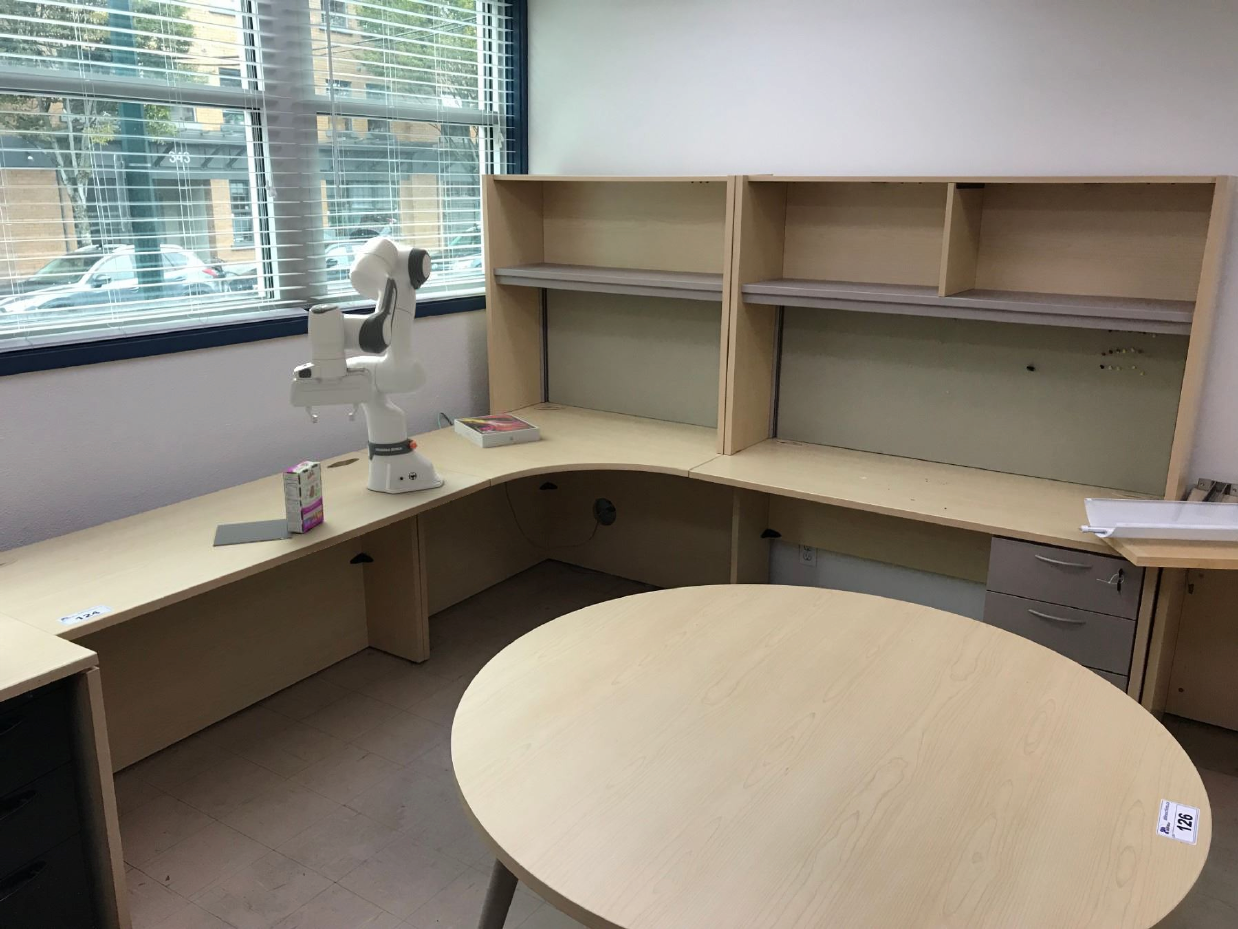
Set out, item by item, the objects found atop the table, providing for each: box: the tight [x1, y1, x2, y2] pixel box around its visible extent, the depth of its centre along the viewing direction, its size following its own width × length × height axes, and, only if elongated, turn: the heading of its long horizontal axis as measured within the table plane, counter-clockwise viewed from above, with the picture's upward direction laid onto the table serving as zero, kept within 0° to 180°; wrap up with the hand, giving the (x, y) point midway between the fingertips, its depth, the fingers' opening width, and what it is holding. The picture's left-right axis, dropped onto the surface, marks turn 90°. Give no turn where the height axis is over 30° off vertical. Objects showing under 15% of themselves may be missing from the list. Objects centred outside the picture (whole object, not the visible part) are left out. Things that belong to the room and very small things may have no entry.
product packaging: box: [453, 413, 541, 449], centre depth 352 cm, size 22×28×5 cm
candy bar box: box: [282, 460, 325, 534], centre depth 253 cm, size 11×5×16 cm, turn 168°
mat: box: [212, 518, 292, 547], centre depth 252 cm, size 18×16×1 cm
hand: (333, 421), depth 251 cm, fingers open, 8 cm apart
